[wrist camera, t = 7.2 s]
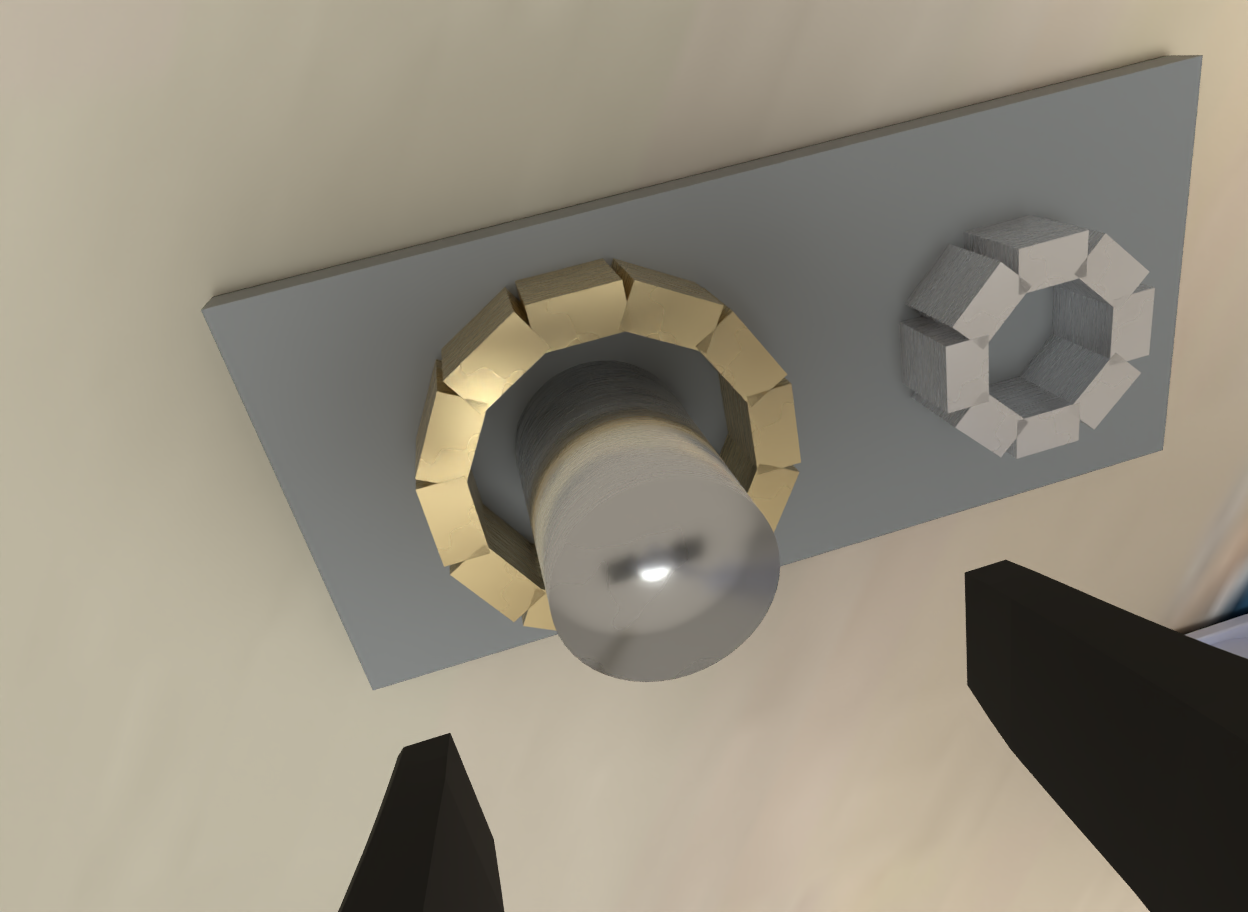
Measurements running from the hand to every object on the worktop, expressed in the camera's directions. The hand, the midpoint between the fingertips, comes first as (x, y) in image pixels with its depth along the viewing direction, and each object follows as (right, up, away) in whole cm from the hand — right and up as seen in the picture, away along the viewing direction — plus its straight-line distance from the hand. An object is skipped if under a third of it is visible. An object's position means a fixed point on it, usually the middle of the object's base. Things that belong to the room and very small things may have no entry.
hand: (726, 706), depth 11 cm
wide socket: (-2, +4, +9) cm, 10 cm away
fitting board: (+2, +5, +9) cm, 11 cm away
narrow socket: (+7, +7, +10) cm, 14 cm away
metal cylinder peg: (-2, +4, +8) cm, 9 cm away
